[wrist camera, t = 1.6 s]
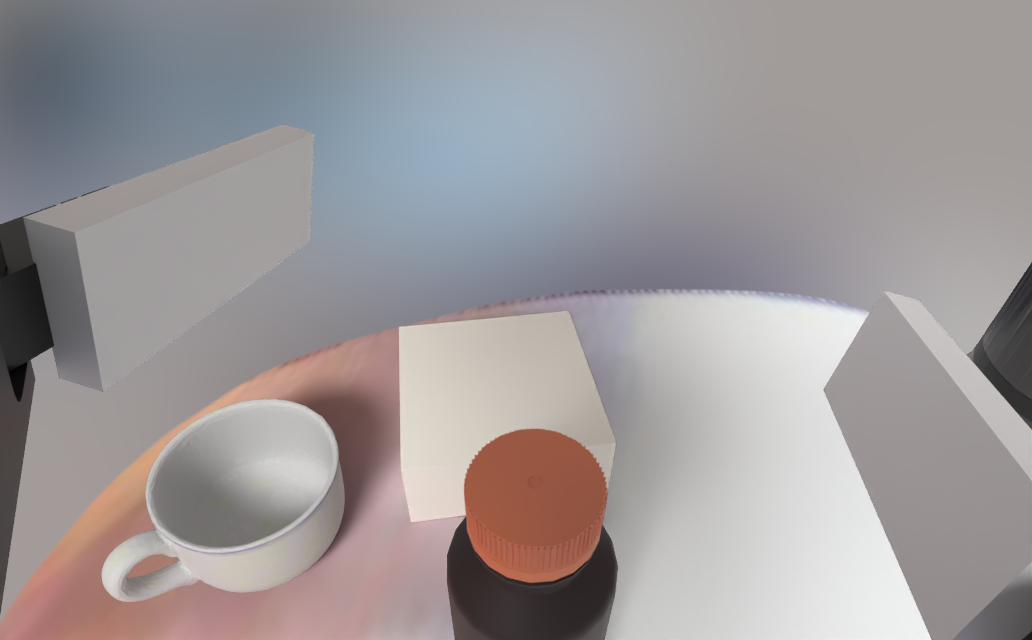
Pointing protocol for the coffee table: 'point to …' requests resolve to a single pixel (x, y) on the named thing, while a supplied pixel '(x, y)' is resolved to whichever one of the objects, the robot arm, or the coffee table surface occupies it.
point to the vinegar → (532, 543)
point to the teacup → (237, 502)
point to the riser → (489, 399)
